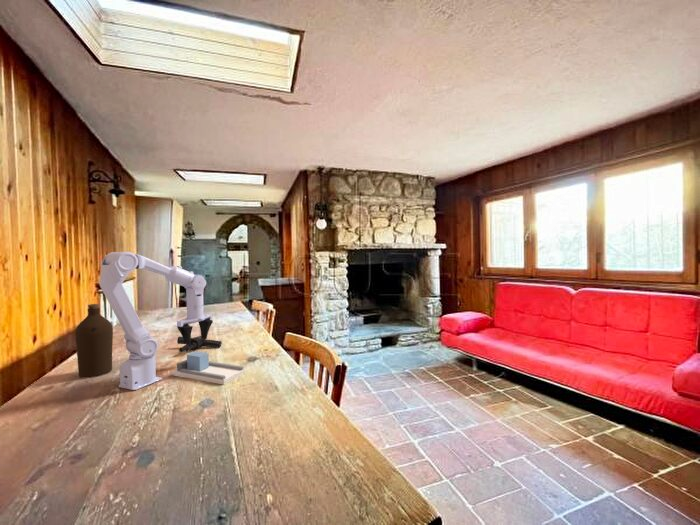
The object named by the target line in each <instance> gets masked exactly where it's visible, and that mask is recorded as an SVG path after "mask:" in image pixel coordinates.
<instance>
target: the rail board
mask: <svg viewBox="0 0 700 525" xmlns="http://www.w3.org/2000/svg"><path fill="white" fill-rule="evenodd" d="M172 374H173V376H174V377H175V376H176V377H181V378H186V379H192V380H197V381H202V382H206V383H207V382H208V383H213V384H219V385H226V384H228V383H231V382H232V381H234V380H236V379H238V378H239V376H240V377H241V375H242V376H243V375H245V374H246V369H245V368H244V365H243V366H242V365H238V364H237V365H235V364H229V363H222V362H215V361H210V360H209V367H208V368H205V369H203V370H201V371H197V370H192V369H187V359H185V360H183V361H180V362H177V363H176V369H174V370H173V372H172Z"/></svg>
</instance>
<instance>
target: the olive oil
mask: <svg viewBox="0 0 700 525" xmlns="http://www.w3.org/2000/svg"><path fill="white" fill-rule="evenodd" d="M87 307H88V308H87V316H85V318H84V319H83V320H81V322H80V323H79V324H78V325H77V326H76V328H75V331H74V338H75V340H74V341H75V348H76V349H75V350H76V356H77V367H78V368H77V370H78V371H77V373H78V377H79V378H82V377H89V378H95V376H96V377H100V376H104V375H107V374H109V373H110V372H112V371H113V340H114V339H113V338H114V337H113V336H114V329H113V328H114V327H113V324H112V323H111V321H110V320H108V319H107V318H105V317H104V316H103V315H102V314H101V307H100V303H90V304H88V305H87ZM103 374H104V375H103Z"/></svg>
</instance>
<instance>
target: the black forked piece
mask: <svg viewBox="0 0 700 525" xmlns="http://www.w3.org/2000/svg"><path fill="white" fill-rule="evenodd" d="M176 342H177V345H183V346H181V347H179V349H178V351H179V352H180V353H183V352H189V351H192V352H193V351H196V350H199V349H200V348H203V347H205V348H214V349H216V348H217V349H220V348H221V347H222V344H223V343H222V341H221V340H213V339H208V338H207V339H201V335H199V336H195V337H191V343H190V344H189V345H188V344H185V343H184V339H183V337H182V336H178V337H177V340H176Z"/></svg>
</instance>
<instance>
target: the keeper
mask: <svg viewBox="0 0 700 525" xmlns="http://www.w3.org/2000/svg"><path fill="white" fill-rule="evenodd" d="M209 355H210V354H209V353H208V352H202V351H194V352H192V353H188V354H186V360H187V369H192V370H197V371H201V370H203V369H205V368H208V367H209V361H210V359H209V358H210V356H209Z"/></svg>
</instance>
